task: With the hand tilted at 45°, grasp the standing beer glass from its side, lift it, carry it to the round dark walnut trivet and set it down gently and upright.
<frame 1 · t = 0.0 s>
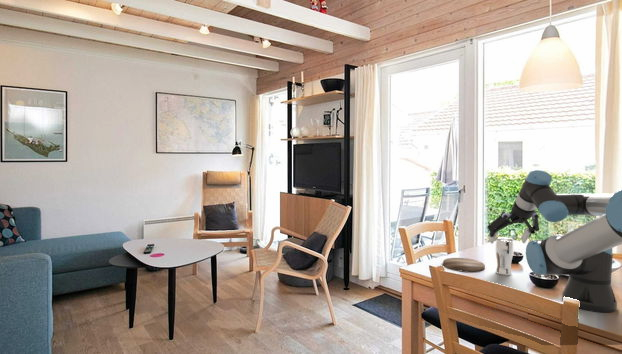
hand: (506, 241, 155), 15 cm above the table, tool tilted 35°, fingers open, 13 cm apart
beer glass: (503, 273, 160), on the table
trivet: (463, 265, 171), on the table
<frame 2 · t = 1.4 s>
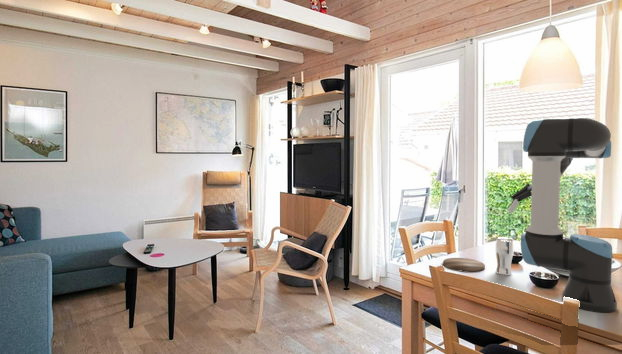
hand: (522, 213, 162), 26 cm above the table, tool tilted 45°, fingers open, 13 cm apart
nothing on the table moved.
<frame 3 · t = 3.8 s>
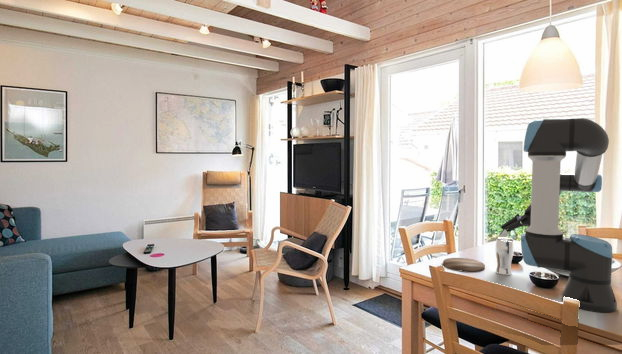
hand: (511, 245, 162), 12 cm above the table, tool tilted 45°, fingers open, 13 cm apart
nothing on the table moved.
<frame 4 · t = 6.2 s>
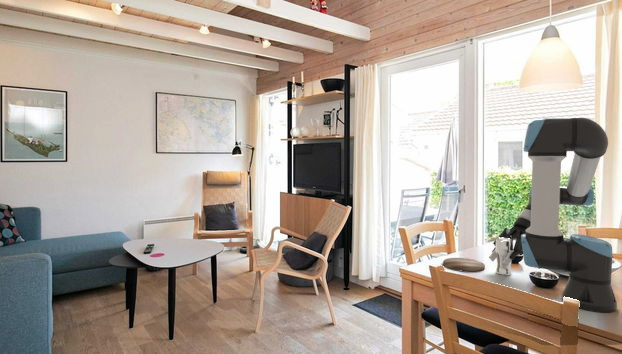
hand: (497, 261, 159), 5 cm above the table, tool tilted 45°, fingers closed on beer glass, 7 cm apart
beer glass: (503, 273, 160), on the table, touching gripper
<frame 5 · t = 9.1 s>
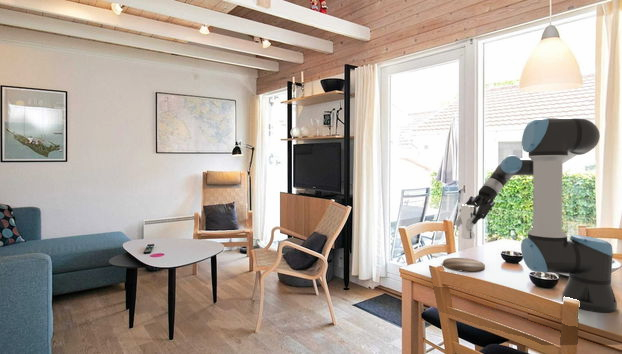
hand: (461, 226, 169), 19 cm above the table, tool tilted 45°, fingers closed on beer glass, 7 cm apart
beer glass: (468, 238, 170), point 13 cm above the table, touching gripper
when the fingers open (7 cm above the table, at t = 12.3 s): beer glass stays where it is, resting on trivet.
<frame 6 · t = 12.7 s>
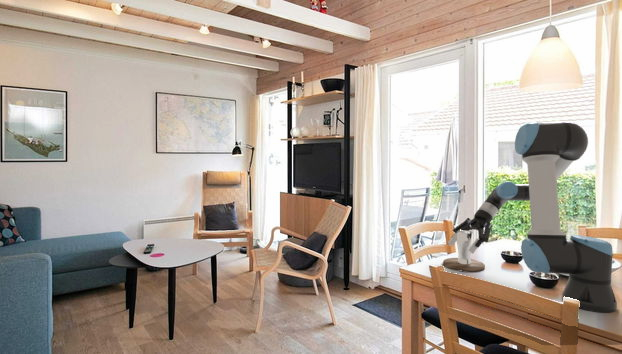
hand: (459, 248, 170), 9 cm above the table, tool tilted 45°, fingers open, 13 cm apart
beer glass: (464, 263, 171), point 1 cm above the table, touching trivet
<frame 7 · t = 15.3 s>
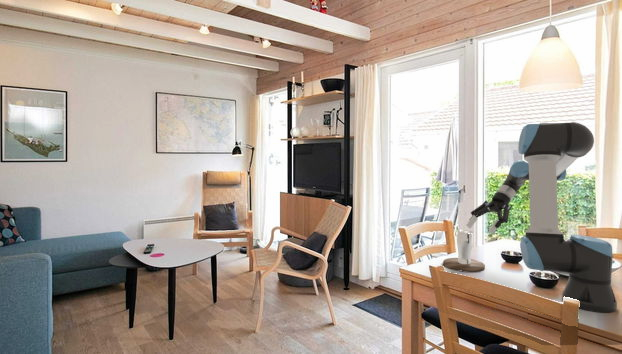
hand: (479, 229, 173), 16 cm above the table, tool tilted 45°, fingers open, 13 cm apart
nothing on the table moved.
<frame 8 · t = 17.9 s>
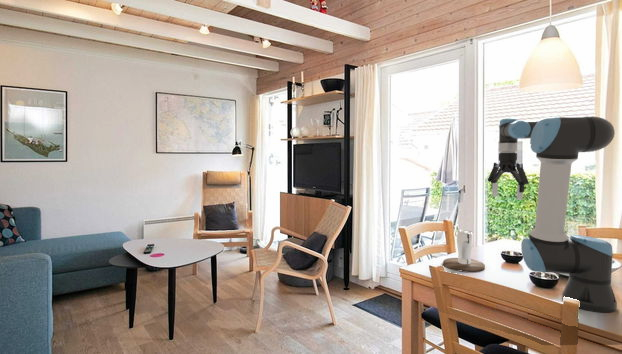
hand: (506, 198, 170), 32 cm above the table, tool pointing down, fingers open, 13 cm apart
nothing on the table moved.
at the end: beer glass inside the target area on the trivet (0.3 cm from its centre), point 1.0 cm above the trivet's base; beer glass tilted 0°; the gripper is holding nothing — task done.
